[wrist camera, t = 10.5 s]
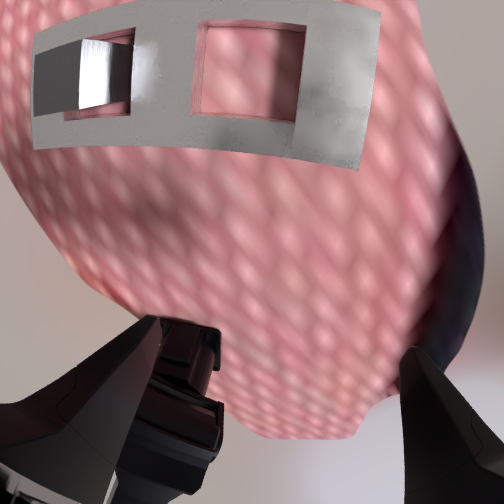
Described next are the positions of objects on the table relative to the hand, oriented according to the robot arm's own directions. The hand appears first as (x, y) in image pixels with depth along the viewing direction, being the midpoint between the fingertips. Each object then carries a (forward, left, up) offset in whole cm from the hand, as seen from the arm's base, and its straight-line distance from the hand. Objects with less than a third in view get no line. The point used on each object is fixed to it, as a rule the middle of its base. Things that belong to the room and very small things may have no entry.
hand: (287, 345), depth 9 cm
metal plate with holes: (+9, +9, -12) cm, 17 cm away
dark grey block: (+9, +14, -12) cm, 20 cm away
